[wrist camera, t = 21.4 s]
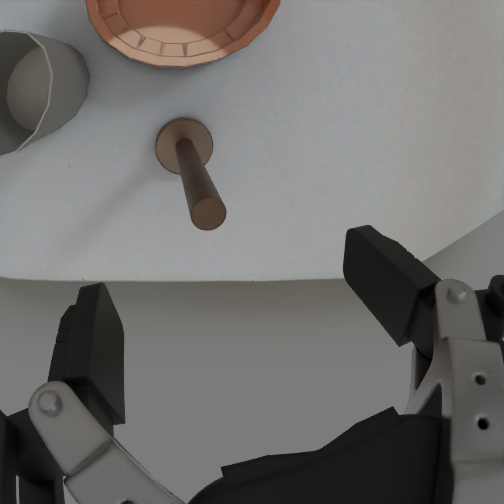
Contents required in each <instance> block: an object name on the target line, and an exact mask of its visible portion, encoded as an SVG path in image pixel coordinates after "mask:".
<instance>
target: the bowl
mask: <svg viewBox="0 0 504 504" xmlns="http://www.w3.org/2000/svg"><path fill="white" fill-rule="evenodd" d="M86 5H87V10H88V15H89V19H90V21H91V23H92V24H93V26H94V27H95V29H96V30H97V32H98V33H99V35H100V36H101V38H102V39H103V41H105V42H106V43H107V44H109V45H110V46H112V47H113V48H114V49H116V50H117V51H119V52H120V53H122V54H123V55H125V56H126V57H127V58H129V59H130V60H132V61H134V62H138V63H141V64H144V65H147V66H151V67H154V68H158V69H188V68H192V67H196V66H200V65H204V64H209V63H212V62H215V61H218V60H220V59H222V58H224V57H226V56H228V55H230V54H232V53H234V52H236V51H238V50H240V49H242V48H244V47H246V46H247V45H248V44H250V43H251V42H252V41H253V40H254V39H255V38H256V37H257V36H258V35H259V34H260V33H261V32H262V31H264V30H265V29H266V28H267V26H268V25H269V23H270V21H271V19H272V18H273V16H274V14H275V12H276V10H277V9H278V7H279V5H280V0H86Z"/></svg>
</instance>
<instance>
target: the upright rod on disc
mask: <svg viewBox="0 0 504 504" xmlns="http://www.w3.org/2000/svg"><path fill="white" fill-rule="evenodd" d="M212 150H213V141H212V137H211V134H210V132H209V131H208V130H207V128H206V127H205V126H204V125H203V124H202V123H200V122H199V121H197V120H195V119H192V118H178V119H174V120H172V121H170V122H169V123H167V124H166V125H165V126H164V127H163V128H162V129H161V131H160V132H159V134H158V136H157V140H156V155H157V158H158V160H159V162H160V163H161V165H162V166H163V167H164V168H165V169H167V170H168V171H170V172H172V173H175V174H181V178H182V182H183V186H184V191H185V195H186V199H187V204H188V208H189V212H190V216H191V220H192V222H193V224H194V225H195V226H196V227H197V228H199V229H201V230H214V229H216V228H218V227H219V226H220V225H221V224H222V223H223V222H224V220H225V218H226V208H225V205H224V203H223V201H222V199H221V198H220V196H219V194H218V192H217V190H216V188H215V186H214V184H213V182H212V180H211V178H210V176H209V174H208V172H207V170H206V168H205V164H206V163H207V162H208V160H209V159H210V157H211V154H212Z"/></svg>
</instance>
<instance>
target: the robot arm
mask: <svg viewBox="0 0 504 504" xmlns="http://www.w3.org/2000/svg"><path fill="white" fill-rule="evenodd" d="M343 273H344V277H345V280H346V282H347V283H348V285H349V286H350V287H351V288H352V290H353V291H354V292H355V293H356V294H357V296H358V297H359V298H360V299H361V300H362V302H363V303H364V304H365V305H366V306H367V307H368V309H369V310H370V311H371V313H372V314H373V315H374V316H375V317H376V319H377V320H378V321H379V322H380V324H381V325H382V326H383V327H384V329H385V330H386V331H387V332H388V334H389V335H390V336H391V337H392V339H393V340H394V341H395V342H396V344H397V345H398V346H399V347H400V346H402V345H404V344H407V343H409V342H411V341H412V342H413V344H414V347H413V350H412V365H411V384H410V396H409V402H408V405H407V408H406V411H405V414H404V415H398V413H397V412H396V410H395V409H394V407H393V406H392V407H390V408H388V409H386V410H384V411H382V412H380V413H378V414H376V415H374V416H371V417H370V418H367V419H365V420H363V421H360V422H358V423H356V424H355V425H354V426H352V427H351V428H349V429H348V430H347V431H345V432H344V433H343V434H341V435H340V436H339V437H337V438H336V439H334V440H333V441H331V442H330V443H329V444H327V445H326V446H324V447H323V448H321V449H319V450H316V451H310V452H301V453H291V454H280V455H266V456H263V457H259V458H256V459H252V460H248V461H244V462H240V463H236V464H232V465H228V466H223V467H221V470H222V474H223V477H222V478H220V479H218V480H215V481H214V482H212V483H211V484H209V485H207V486H206V487H205V488H204V489H202V490H201V491H200V492H198V493H197V494H196V495H195V496H194V497H193V498H192V499H191V500H190V501H189V503H188V504H504V341H503V340H502V339H503V337H504V275H496V276H494V277H493V278H492V279H491V281H490V284H489V286H488V289H485V290H476V291H473V289H472V288H471V287H470V286H468V285H467V284H465V283H464V282H462V281H459V280H455V279H444V280H441V279H440V278H439V277H438V276H436V275H435V274H434V273H433V272H432V271H431V270H430V269H429V268H427V267H426V266H425V265H424V264H423V263H422V262H421V261H419V260H418V259H417V258H415V257H414V255H412V254H411V253H410V252H409V251H408V252H407V250H406V249H405V248H404V247H403V246H402V245H400V244H399V243H398V242H397V241H395V240H392V239H390V238H388V237H386V236H383V235H382V234H380V233H379V232H378V231H377V230H376V229H374V228H373V227H372V226H370V225H365V226H360V227H355V228H351V229H349V230H348V231H347V233H346V240H345V251H344V262H343ZM58 332H59V333H58V334H57V337H56V344H55V346H54V351H53V356H52V360H51V366H50V371H49V377H48V382H47V383H45V384H43V385H42V386H40V387H39V388H38V389H37V390H36V391H35V392H34V393H33V395H32V397H31V399H30V402H29V406H28V408H27V409H24V410H22V411H20V412H17V413H15V414H12V415H10V416H6V415H5V414H4V413H3V412H2V411H1V410H0V504H17V503H16V475H17V476H18V477H19V502H20V504H65V500H64V490H63V478H62V477H63V476H66V478H65V479H64V484H65V486H66V488H67V489H68V491H69V492H70V494H71V495H72V496H73V498H74V499H75V500H76V502H77V503H78V504H186V503H185V502H184V501H183V500H181V499H180V498H179V497H178V496H177V495H175V494H174V493H173V492H172V491H170V490H169V489H168V488H167V487H166V486H164V485H163V484H162V483H161V482H160V481H159V480H157V479H156V478H155V477H154V476H153V475H152V474H151V473H150V472H149V471H148V470H146V469H145V468H144V467H143V466H142V465H141V464H140V463H139V462H138V461H137V460H136V459H135V458H134V457H133V456H132V455H131V454H130V453H129V452H128V451H127V450H126V449H125V448H124V447H123V446H122V445H121V444H120V443H119V442H118V441H117V440H116V439H115V437H114V434H113V432H114V431H113V425H118V424H125V404H124V331H123V326H122V323H121V320H120V317H119V315H118V313H117V310H116V308H115V306H114V304H113V302H112V299H111V297H110V294H109V292H108V290H107V287H106V285H105V284H104V283H103V282H101V283H97V284H92V285H88V286H83V287H81V288H80V290H79V294H78V298H77V302H76V305H71V306H69V308H68V309H67V311H66V312H65V313H64V315H63V316H62V318H61V321H60V325H59V329H58Z"/></svg>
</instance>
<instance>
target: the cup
mask: <svg viewBox="0 0 504 504" xmlns="http://www.w3.org/2000/svg"><path fill="white" fill-rule="evenodd" d="M88 81H89V73H88V70H87V67H86V64H85V60H84V57H82V56H81V55H80V54H79V53H78V52H77V51H76V50H75V49H74V48H73V47H71V46H70V45H67V44H64V43H61V42H59V41H56V40H53V39H50V38H46V37H43V36H40V35H37V34H34V33H30V32H26V31H16V30H2V31H0V158H2V157H5V156H8V155H11V154H14V153H16V152H18V151H20V150H21V149H23V148H25V147H26V146H28V145H30V144H31V143H33V142H35V141H37V140H38V139H40V138H42V137H44V136H46V135H47V134H49V133H51V132H53V131H55V130H57V129H59V128H60V127H62V126H63V125H64V124H65V123H66V122H68V121H69V120H70V119H71V118H73V117H74V116H75V115H76V114H77V112H78V110H79V109H80V107H81V105H82V103H83V101H84V100H85V98H86V96H87V88H88Z"/></svg>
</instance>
